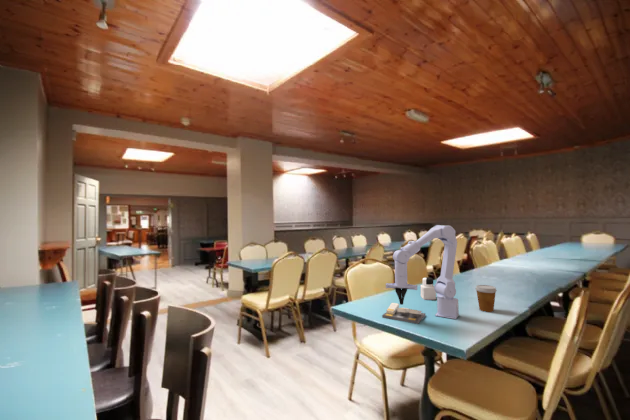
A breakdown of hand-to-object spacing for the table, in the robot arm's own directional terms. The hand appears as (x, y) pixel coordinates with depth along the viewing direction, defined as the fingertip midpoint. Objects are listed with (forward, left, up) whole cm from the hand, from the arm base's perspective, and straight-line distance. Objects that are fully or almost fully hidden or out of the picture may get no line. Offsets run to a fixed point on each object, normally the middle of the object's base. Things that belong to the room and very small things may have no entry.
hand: (401, 304), depth 148 cm
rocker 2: (0, -3, -4) cm, 5 cm away
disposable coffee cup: (-33, -35, -7) cm, 48 cm away
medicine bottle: (-2, -44, -7) cm, 44 cm away
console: (0, -3, -7) cm, 8 cm away
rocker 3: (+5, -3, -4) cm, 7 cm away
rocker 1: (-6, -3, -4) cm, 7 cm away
